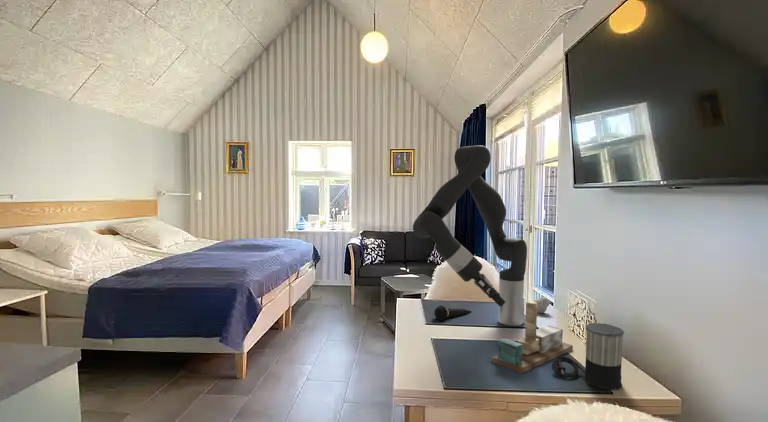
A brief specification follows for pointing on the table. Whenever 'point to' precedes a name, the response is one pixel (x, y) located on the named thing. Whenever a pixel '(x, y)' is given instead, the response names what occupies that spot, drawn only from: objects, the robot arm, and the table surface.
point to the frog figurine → (542, 304)
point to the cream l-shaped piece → (530, 330)
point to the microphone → (449, 312)
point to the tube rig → (520, 362)
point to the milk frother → (598, 357)
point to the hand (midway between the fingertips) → (500, 300)
